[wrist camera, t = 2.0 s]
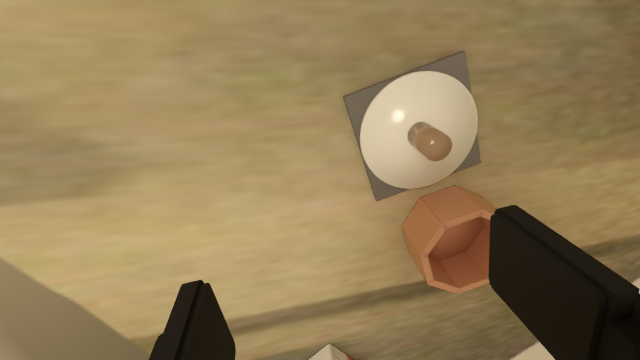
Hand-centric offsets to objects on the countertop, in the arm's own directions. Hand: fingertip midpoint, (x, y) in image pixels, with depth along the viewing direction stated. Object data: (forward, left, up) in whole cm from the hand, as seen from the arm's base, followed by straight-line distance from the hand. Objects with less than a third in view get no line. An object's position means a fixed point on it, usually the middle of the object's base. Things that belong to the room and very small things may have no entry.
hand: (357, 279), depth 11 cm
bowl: (-12, +21, -26) cm, 35 cm away
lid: (-11, +7, -25) cm, 28 cm away
